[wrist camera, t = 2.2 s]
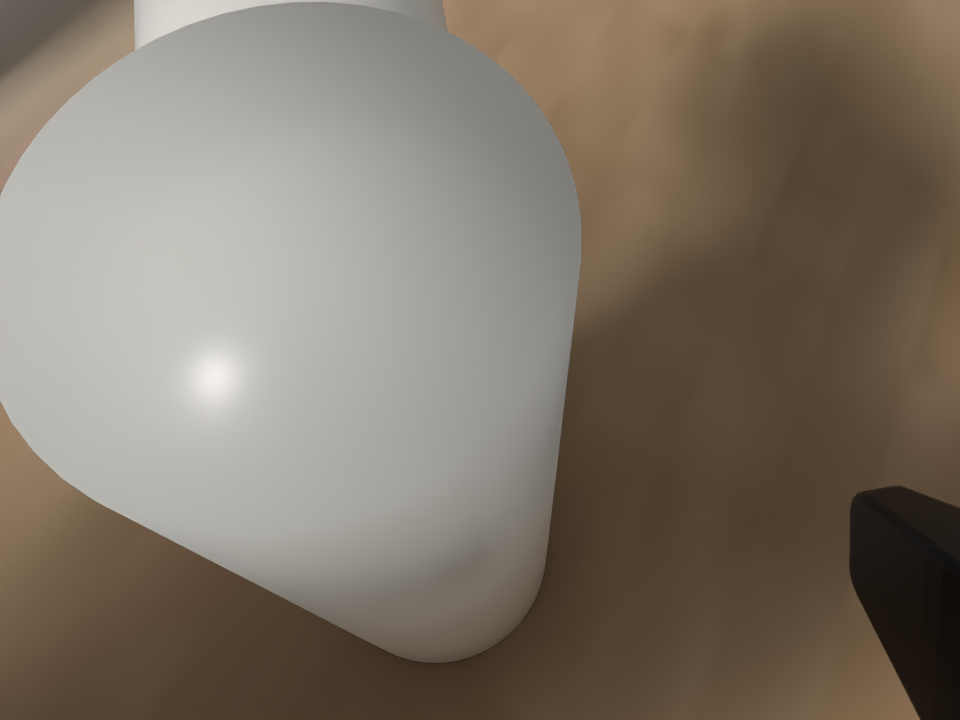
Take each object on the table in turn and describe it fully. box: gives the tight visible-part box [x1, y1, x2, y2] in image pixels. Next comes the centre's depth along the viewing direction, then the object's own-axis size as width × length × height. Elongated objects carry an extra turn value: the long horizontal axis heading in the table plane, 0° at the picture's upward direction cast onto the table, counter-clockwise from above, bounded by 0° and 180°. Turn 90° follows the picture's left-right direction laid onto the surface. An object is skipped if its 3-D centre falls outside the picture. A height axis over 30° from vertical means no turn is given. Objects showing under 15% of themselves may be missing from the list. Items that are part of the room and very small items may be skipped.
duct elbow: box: [0, 0, 582, 663], centre depth 13 cm, size 7×4×12 cm, turn 10°
